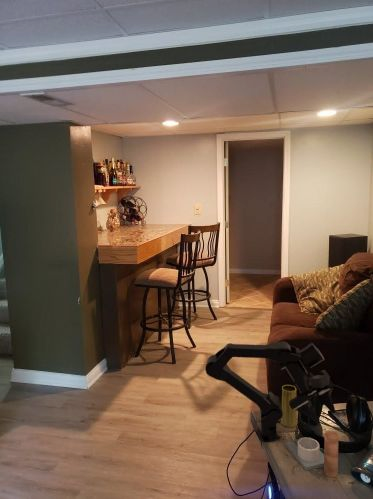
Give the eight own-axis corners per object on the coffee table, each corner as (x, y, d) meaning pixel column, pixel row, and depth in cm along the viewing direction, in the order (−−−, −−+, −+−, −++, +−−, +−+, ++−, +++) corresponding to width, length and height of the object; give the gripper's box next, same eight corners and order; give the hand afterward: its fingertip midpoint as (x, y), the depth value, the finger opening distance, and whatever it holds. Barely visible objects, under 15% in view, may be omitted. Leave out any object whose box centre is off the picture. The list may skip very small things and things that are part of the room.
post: (321, 469, 124) (322, 431, 122) (332, 467, 125) (333, 429, 123) (328, 478, 120) (329, 439, 118) (340, 475, 121) (341, 436, 119)
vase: (297, 428, 146) (298, 392, 144) (281, 426, 147) (281, 391, 145) (296, 419, 152) (296, 384, 150) (280, 417, 153) (280, 383, 151)
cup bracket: (285, 445, 136) (285, 432, 135) (308, 441, 138) (308, 427, 138) (305, 470, 124) (305, 455, 123) (330, 465, 126) (330, 450, 125)
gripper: (297, 372, 125) (327, 420, 118) (329, 357, 136) (358, 399, 129) (277, 387, 132) (304, 432, 125) (309, 371, 143) (336, 411, 136)
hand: (327, 418), depth 129 cm, fingers open, 9 cm apart
